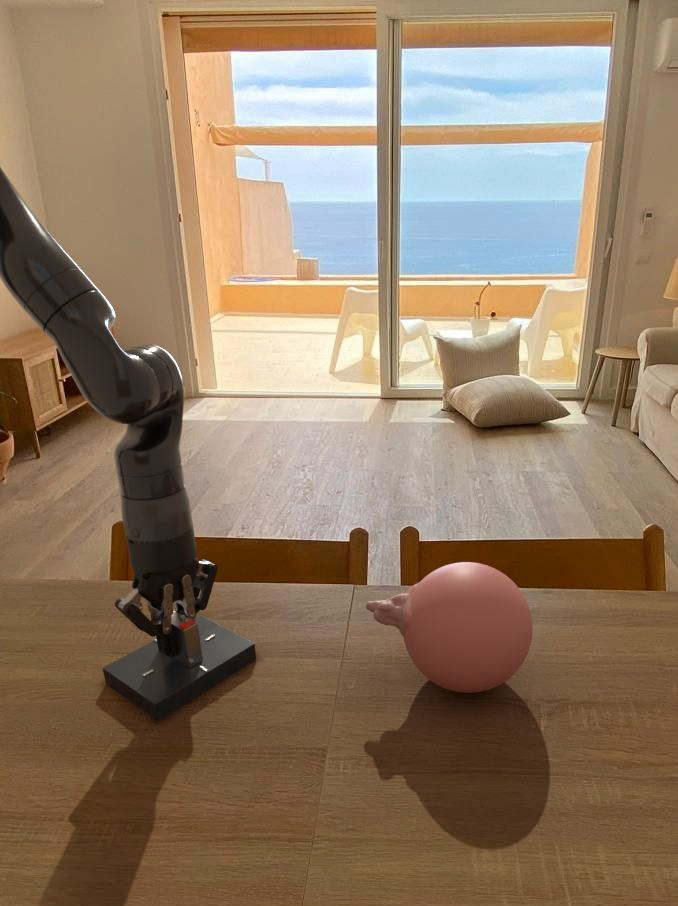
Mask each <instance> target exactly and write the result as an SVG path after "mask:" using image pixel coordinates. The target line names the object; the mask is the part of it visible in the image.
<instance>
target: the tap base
mask: <svg viewBox="0 0 678 906" xmlns="http://www.w3.org/2000/svg"><path fill="white" fill-rule="evenodd" d="M195 622H196V623H197V624H198V630H199V637H200V644H201V650H202V657H203V661H201V662H200V663H198V664H196V665H195V666H193V667H191V668H189V667H187V666H185V665H184V664H182V663H180V662H179V661H177V660H175V659H174V658H171V657H169V656H168V655H165V654H164V653H162V652H160V650H158V645H157V639H156V638H154V639H153V640H152V641H150V642H149V643H147V644H145V645H143V646H141V647H140V648H137V649H136V650H135V649H134V650H133V651H131V652H130V653H128V654H126V655H123V656H122V657H120V658H119V659H116V660H115V661H113V662H111V663H109V664H107V665H105V666H103V667H102V672H103V677H104V682H105V685H106V686H108V687H109V688H110V689H111V690H113V691H114V692H116V693H118V694H119V695H120V696H122V697H123V698H124V699H126V700H127V701H128V702H130V703H131V704H133V705H134V706H136V707H137V708H139V709H140V710H141V711H143V712H144V713H145V714H147V715H149V716H150V717H151V718H152V719H154V720H155V721H157V722H160V721H162V720H163V719H165V718H166V717H168V716H169V715H171V714H173V713H174V712H176V711H177V710H179V709H180V708H181V707H184V706H185V705H186V704H189V703H190V702H191V701H193V700H194V699H196V698H198V697H199V696H201V695H203V694H204V693H206V692H207V691H209V690H210V689H212V688H213V687H215V686H217V685H218V684H220V683H221V682H223V681H224V680H227V679H228V678H230V677H231V676H233V675H234V674H236V673H237V672H239V671H241V670H242V669H244V668H245V667H247V666H248V665H250V664H252V663H253V662H255V661H256V660H257V651H256V644H255V642H253V641H251V640H249V639H247V638H245V637H243V636H242V635H241V634H240V635H239V634H238V633H236V632H234V631H232V630H230V629H228V628H227V627H224V626H222V625H220V624H218V623H217V622H215V621H213V620H211V619H209V618H208V617H205V616H203V615H199V616H196V618H195Z"/></svg>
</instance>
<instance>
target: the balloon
mask: <svg viewBox="0 0 678 906" xmlns="http://www.w3.org/2000/svg"><path fill="white" fill-rule="evenodd" d="M365 609H366V610H368V611H370V612H371V613H373V619H374V620H375V621H376V622H377V623H379V624H381V625H384V626H390V627H391V626H392V627H395V628H396V629H397V630H399V633H400V635H401V636H402V637H403V641H404V645H405V648H406V651H407V653H408V656H409V658H410V659H411V662H413V664H414V666H415V667H416V668H417V669H418V671H419V672H420V673H421V674H422V675H423V676H424V677H425V678H427V679H428V680H429V681H431V682H432V683H433V684H435V685H437V686H439V687H440V688H443V689H445V690H449V691H452V692H457V693H462V694H463V693H464V694H475V693H481V692H486V691H490V690H492V689H495V688H496V687H499V686H501V685H502V684H504V683H505V682H507V681H508V680H509V679H511V678H512V677H513V676H514V675H515V674H516V673H517V671H518V670H519V669H520V668H521V666H522V665H523V663H524V662H525V661H526V658H527V656H528V654H529V651H530V648H531V645H532V640H533V627H534V626H533V619H532V613H531V608H530V606H529V604H528V601H527V599H526V597H525V595H524V594H523V592H522V591H521V589H520V588H519V587H518V585H517V584H516V583H515V582H514V581H513V580H512V579H511V578H509V577H508V576H507V575H506V574H505V573H504V572H502V571H500V570H498V569H497V568H494V567H492V566H490V565H486V564H484V563H479V562H473V561H472V562H471V561H461V562H454V563H449V564H445V565H444V566H441V567H438V568H436V569H434V570H433V571H432V572H430V573H429V574H427V575H426V576H425V577H424V578H422V579H421V580H420V581H419V582H417V583H416V584H414V585H411V586H410V587H409V588H408V590H407V592H406V593H398V594H396V595H394V596H391V597H389V598H387V599H383V600H374V601H373V600H369V601H367V602H366V603H365Z"/></svg>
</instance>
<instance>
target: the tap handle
mask: <svg viewBox="0 0 678 906" xmlns="http://www.w3.org/2000/svg"><path fill="white" fill-rule="evenodd" d="M171 621H172V630H173V631H174V635H175V641H176V648H177V655H176V656H174V657H172V658H174V659H175V660H177V661H179V662H180V663H182V664H184V665H185V666H187V667H189V668H191V667H193V666H195V665H196V664H198V663H200V662H201V661H203V657H202V650H201V644H200V637H199V630H198V624H197V623H196V622H195V621H193V620H191V619H188V618H187V617H185V616H183V615H181V614H179V613H177V612H176V610H173V615H172V616H171ZM155 639H157V638H156V637H155ZM157 645H158V644H157ZM158 650H159V649H158Z"/></svg>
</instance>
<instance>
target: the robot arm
mask: <svg viewBox="0 0 678 906" xmlns="http://www.w3.org/2000/svg"><path fill="white" fill-rule="evenodd" d="M0 280H1V283H3V285H4V287H5V288H6V290H7V291H8V292H9V294H10V295H11V297H12V298H13V299H14V300H15V301H16V303H17V304H18V305H19V306H20V307H21V308H22V309H23V310H24V311H25V313H26V314H27V315H28V316H29V317H30V318H31V319H32V320H33V321H34V323H35V324H36V325H37V326H38V327H39V328H40V329H41V330H42V332H43V333H44V334H45V335H46V336H47V337H48V338H49V339H50V340H51V341H52V342H53V344H54V345H55V347H56V349H57V350H58V353H59V354H60V357H61V359H62V361H63V362H64V364H65V366H66V368H67V369H68V372H69V373H70V375H71V378H72V379H73V381H74V382H75V384H76V386H77V388H78V390H79V392H80V393H81V395H82V396H83V398H84V399H85V400H86V401H87V403H88V404H89V406H91V407H92V409H94V411H96V412H97V413H98V414H100V415H101V416H103V417H104V418H105V419H107V420H108V421H111V422H114V423H118V424H121V425H126V430H125V432H124V434H123V436H122V437H121V439H120V440H119V441H118V443H117V444H116V445H115V447H114V451H113V459H114V460H113V461H114V466H115V467H114V468H115V472H116V479H117V483H118V489H119V493H120V494H119V495H120V513H121V519H122V523H123V529H124V530H123V531H124V534H125V541H126V546H127V552H128V556H129V562H130V566H131V569H132V571H133V574H134V575H133V580H132V584H131V587H132V590H131V591H130V592H129V593H128V595H126V597H125V598H123V597H119V598H117V599H116V600H115V602H114V606H115V608H116V609H117V610H118V612H120V613H122V615H123V616H124V617H125V618H127V619H128V620H129V621H130V622H131V624H133V625H134V626H135V627H136V628H137V629H138V630H139V631H142V632H144V633H146V634H147V635H148V636H150V637H151V638H154V637H155V639H156V638H157V644H158V649H159V650H160V652H162V653H164V654H165V655H168V656H169V657H171V658H172V657H174V656H176V655H177V648H176V641H175V635H174V631H173V630H172V621H171V616H172V615H173V611H174V609H175V612H177V613H179V614H181V615H183V616H185V617H187V618H188V619H191V620H193V621H195V618H197V614H198V613H199V612H200V611H204V610H206V609H207V607H208V604H209V602H210V601H209V600H210V597H211V595H212V590H213V587H214V583H215V579H216V577H217V574H218V573H217V572H218V570H219V567H218V565H217V564H215V563H212V562H210V561H209V560H206V559H203V558H202V559H200V560H199V559H198V558H197V553H198V550H197V543H196V536H195V529H194V522H193V515H192V509H191V502H190V498H189V494H188V491H187V487H186V481H185V474H184V466H183V460H182V455H181V440H182V434H183V421H184V405H185V388H184V382H183V377H182V373H181V371H180V367H179V366H178V364H177V362H176V360H175V359H174V357H173V356H172V354H170V353H169V352H168V351H167V350H165V349H164V348H162V347H160V346H159V345H156V344H151V343H144V344H138V345H134V346H131V347H129V348H127V349H124V350H123V349H122V348H121V347H120V345H119V344H118V342H117V341H116V339H115V337H114V336H113V334H112V333H111V329H112V328H113V326H114V324H115V321H116V312H115V310H114V308H113V306H112V304H111V303H110V301H109V300H108V299H107V298H106V297H105V295H104V294H103V293H102V292H101V290H100V289H99V288H98V287H97V286H96V285H95V284H94V282H93V281H92V280H91V279H90V278H89V277H88V276H87V274H86V273H85V272H84V271H83V270H82V268H80V267H79V266H78V264H77V263H76V262H75V261H74V260H73V259H72V257H71V256H69V254H68V253H67V251H65V250H64V248H62V246H61V245H60V244H59V243H58V241H57V240H56V239H55V238H54V237H53V236H52V235H51V233H50V232H49V231H48V229H47V228H46V227H45V225H44V224H43V223H42V222H41V221H40V219H39V218H38V216H37V215H35V213H34V212H33V211H32V209H31V208H30V207H29V206H28V204H27V203H26V201H25V200H24V198H23V197H22V196H21V194H20V193H19V191H18V190H17V188H16V187H15V186H14V184H13V183H12V181H11V180H10V178H8V176H7V174H6V173H5V172H4V170H3V169H2V167H1V166H0ZM142 598H143V599H144V600H145V601H147V602H146V603H147V609H148V611H149V612H150V618H148V617H147V616H146V614H144V613H143V609H144V607H143V603H142V602H141V599H142Z"/></svg>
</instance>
